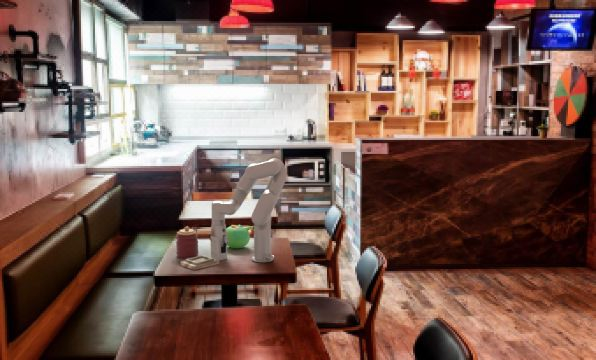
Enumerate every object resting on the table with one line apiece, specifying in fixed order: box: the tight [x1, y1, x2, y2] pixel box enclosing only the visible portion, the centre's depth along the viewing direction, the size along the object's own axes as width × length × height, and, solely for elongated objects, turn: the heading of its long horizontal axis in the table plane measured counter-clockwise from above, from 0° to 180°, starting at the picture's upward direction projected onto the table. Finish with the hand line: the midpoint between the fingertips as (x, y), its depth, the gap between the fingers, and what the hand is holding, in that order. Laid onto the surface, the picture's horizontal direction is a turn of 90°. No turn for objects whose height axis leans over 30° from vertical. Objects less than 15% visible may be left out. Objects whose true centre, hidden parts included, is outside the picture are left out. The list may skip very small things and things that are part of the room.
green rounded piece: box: [226, 224, 254, 249], centre depth 398 cm, size 18×17×15 cm
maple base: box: [180, 254, 220, 271], centre depth 362 cm, size 13×17×3 cm
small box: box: [210, 236, 228, 261], centre depth 374 cm, size 8×6×13 cm
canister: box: [175, 226, 199, 259], centre depth 379 cm, size 13×13×18 cm
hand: (218, 251), depth 374 cm, fingers closed on small box, 8 cm apart
